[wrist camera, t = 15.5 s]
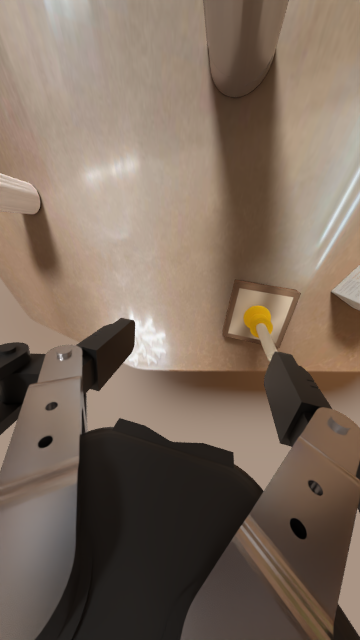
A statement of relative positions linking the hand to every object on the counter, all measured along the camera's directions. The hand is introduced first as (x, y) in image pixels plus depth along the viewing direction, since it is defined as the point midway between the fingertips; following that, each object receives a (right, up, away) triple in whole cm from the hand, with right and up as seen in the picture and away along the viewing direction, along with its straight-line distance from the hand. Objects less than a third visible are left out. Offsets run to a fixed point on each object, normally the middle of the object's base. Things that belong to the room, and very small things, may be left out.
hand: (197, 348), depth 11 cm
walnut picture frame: (+16, +3, +30) cm, 34 cm away
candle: (+15, +2, +28) cm, 32 cm away
